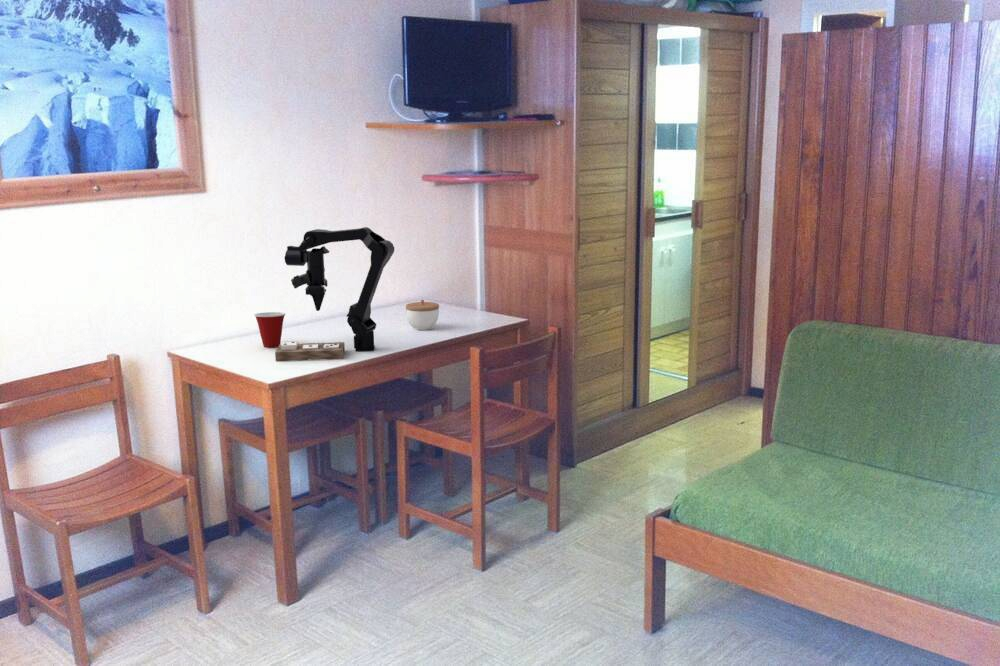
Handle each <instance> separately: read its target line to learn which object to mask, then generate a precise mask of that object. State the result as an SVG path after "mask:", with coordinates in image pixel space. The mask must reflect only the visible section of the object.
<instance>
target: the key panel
mask: <svg viewBox="0 0 1000 666" xmlns="http://www.w3.org/2000/svg"><path fill="white" fill-rule="evenodd" d="M281 344H282V343H280V344H279V346H278V347H276V350H275V352H274V355H275V356H274V357H275V358H274V359H275V362H289V361H288V360H298V361H309V360H308V359H327V360H343V359H344V356H345V352H346V350H345V342H344V341H343V342H342V341H337V342H309V343H308V342H307V343H304V342H302V343H298V347H297V350H281ZM313 344H319V348H318V349H302V348H303V345H313ZM324 344H339V348H328V349H323V347H324ZM344 351H345V352H344Z"/></svg>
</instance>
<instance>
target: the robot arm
mask: <svg viewBox="0 0 1000 666" xmlns="http://www.w3.org/2000/svg"><path fill="white" fill-rule="evenodd" d="M348 241H361V242H362V243H363V244H364V246H365V247H366V248H367V249H368V250H369V251H370V267H369V270H368V272H367V275H366V277H365V280H364V283H363V286H362V289H361V292H360V295H359V298H358V300H357V302H355V303H353V304H351V305H349V309H348V313H347V315H346V317H347V319H346V322H347V323H348V326H349V327H350V328H351V330H352V333H353V348H354V349H355V351H354V352H368V351H370V352H373V351H375V350H376V349H375V348H376V347H375V335H374V334H375V330H376V328H377V322H375V321H374V320H373V319H372V318H371V313H372V307H371V306H372V302H373V298H374V296H375V294H376V290H377V289H378V288H377V287H378V285H379V282H380V279H381V276H382V274H383V271H384V268H386V265H387V264H388V263H389V262H390V259H391V258H392V256H393V255H394V252H395V246H394V244H393V243H392V241H390V240H386V239H385V238H384V237H383V236H381V235H380V234H378V233H376V232H374V231H373V230H372V229H371V228H369V227H366V226H364V227H361V228H352V229H350V228H349V229H340V230H339V229H338V230H328V229H322V228H321V229H320V228H317V229H312V230H308V231H306V232H305V233H304V234H303V240H302V242H301V243H300V245H298V246H294V245H288V246H286V251H285V254H284V255H285V256H284V262H285V264H286V266H290V267H292V266H294V267H295V266H296V267H298V266H299V267H300V266H301V267H304V266H307V267H306V268H307V269H306V271H305V273H303V274H300V275H298V274H297V275H295V276H293V277H292V278H291V279H290V281H291V285H292V286H293V288H294V289H298V288H299V287H302V286H303V285H306V287H305V289H304V290H305V295H306V296H307V295H309V296H311V298H312V300H313V304H314V306H315V307H314V308H315V311H317V312H319V311H320V310H321V307H322V304H323V301H324V299H325V295H326V291H327V289H326V288H327V287H328V285H329V284H328V279H326V278H325V272H326V269H325V257H324V255H325V254H329V253H330V250H329V249H328V248H326V246H324V245H326V244H331V243H339V242H348ZM319 246H321V247H320V248H316V247H319Z"/></svg>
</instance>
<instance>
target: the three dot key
mask: <svg viewBox="0 0 1000 666" xmlns="http://www.w3.org/2000/svg"><path fill="white" fill-rule="evenodd" d="M328 348H339V344H324V347H323V349H328Z"/></svg>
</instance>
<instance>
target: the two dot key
mask: <svg viewBox="0 0 1000 666" xmlns="http://www.w3.org/2000/svg"><path fill="white" fill-rule="evenodd" d="M280 344H281V350H297V347H298V344H299V342H298V341H282V342H281V343H280Z"/></svg>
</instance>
